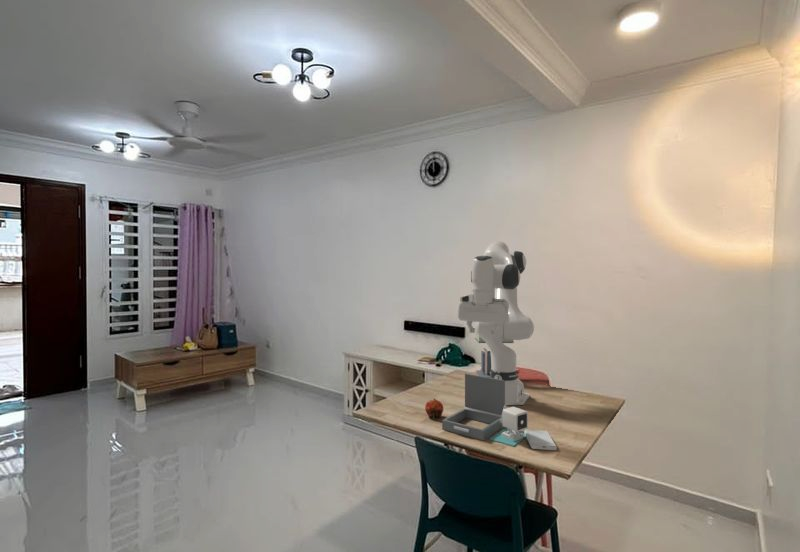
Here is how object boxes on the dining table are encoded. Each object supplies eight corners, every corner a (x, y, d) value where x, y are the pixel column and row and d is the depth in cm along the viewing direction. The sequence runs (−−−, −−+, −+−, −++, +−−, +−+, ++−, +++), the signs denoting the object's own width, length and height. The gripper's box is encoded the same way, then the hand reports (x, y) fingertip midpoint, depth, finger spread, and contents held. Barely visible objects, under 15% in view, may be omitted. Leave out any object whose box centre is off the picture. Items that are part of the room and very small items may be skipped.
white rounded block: (516, 443, 147) (516, 414, 147) (500, 436, 153) (500, 408, 153) (528, 439, 151) (528, 410, 150) (512, 432, 156) (512, 405, 156)
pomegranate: (443, 425, 171) (447, 404, 178) (439, 414, 166) (442, 393, 174) (425, 425, 173) (430, 404, 181) (421, 414, 169) (425, 393, 177)
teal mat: (504, 429, 160) (504, 428, 160) (527, 435, 155) (527, 434, 155) (489, 440, 151) (489, 438, 151) (513, 446, 145) (513, 445, 145)
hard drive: (524, 429, 155) (531, 444, 143) (547, 430, 155) (556, 445, 142) (524, 433, 155) (531, 449, 143) (547, 435, 155) (556, 450, 142)
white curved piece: (507, 375, 240) (507, 316, 240) (513, 381, 226) (513, 320, 226) (474, 374, 241) (474, 316, 240) (478, 381, 227) (479, 320, 226)
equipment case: (465, 416, 175) (465, 373, 174) (507, 426, 164) (507, 380, 163) (441, 429, 160) (441, 383, 160) (484, 442, 149) (484, 392, 149)
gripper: (512, 298, 161) (511, 335, 161) (464, 296, 173) (464, 330, 174) (504, 299, 156) (504, 337, 156) (456, 297, 168) (456, 332, 169)
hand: (482, 333), depth 165 cm, fingers open, 8 cm apart
